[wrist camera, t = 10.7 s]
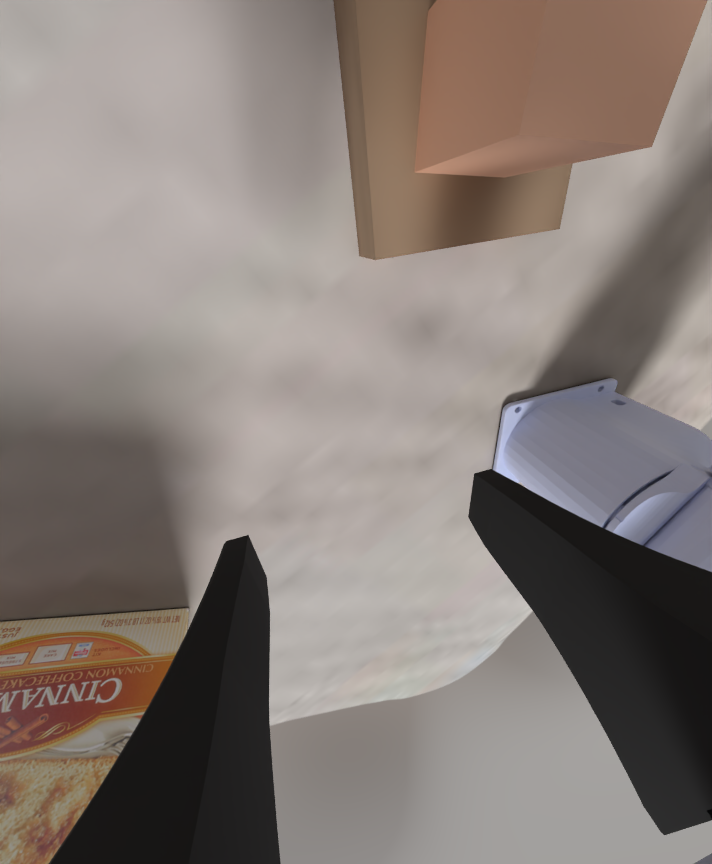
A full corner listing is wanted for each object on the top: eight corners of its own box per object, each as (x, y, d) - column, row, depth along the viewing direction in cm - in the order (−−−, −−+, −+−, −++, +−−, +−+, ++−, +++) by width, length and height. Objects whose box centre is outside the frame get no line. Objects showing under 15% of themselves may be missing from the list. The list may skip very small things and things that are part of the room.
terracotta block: (534, 30, 11) (756, -130, 6) (504, 177, 13) (651, 146, 8) (427, 11, 10) (587, -193, 5) (414, 172, 12) (518, 134, 7)
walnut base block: (552, -46, 12) (627, -114, 10) (516, 229, 17) (559, 229, 15) (325, -41, 11) (346, -120, 9) (357, 255, 16) (375, 260, 14)
